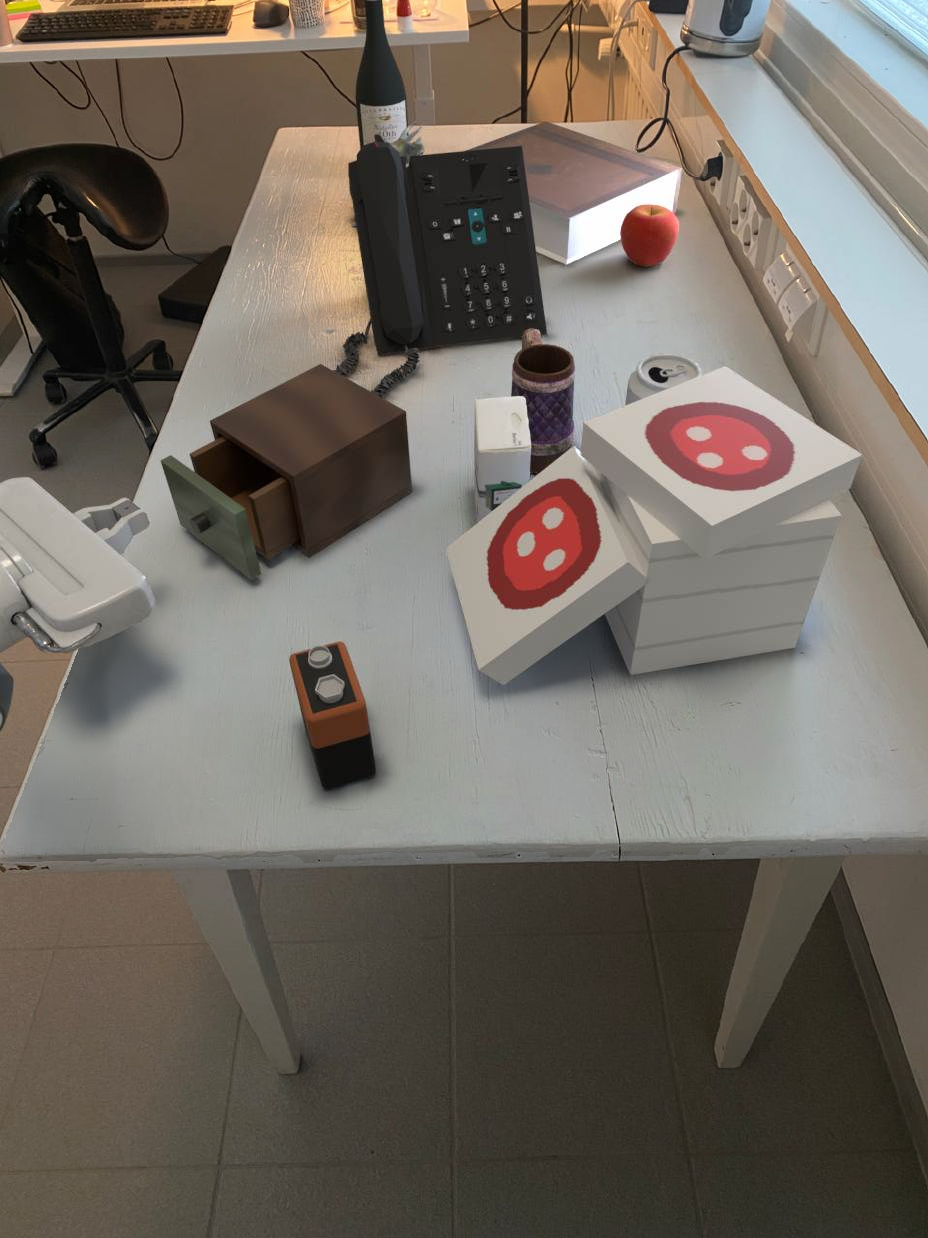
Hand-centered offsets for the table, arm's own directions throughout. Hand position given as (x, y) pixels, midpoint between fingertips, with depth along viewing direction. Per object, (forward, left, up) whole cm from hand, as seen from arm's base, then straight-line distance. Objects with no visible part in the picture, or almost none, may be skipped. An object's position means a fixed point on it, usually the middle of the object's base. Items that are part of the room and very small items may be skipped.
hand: (139, 510), depth 80 cm
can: (+51, +1, -10) cm, 52 cm away
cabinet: (+17, +9, -10) cm, 21 cm away
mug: (+41, +9, -10) cm, 43 cm away
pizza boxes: (+39, -17, -10) cm, 44 cm away
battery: (+11, -23, -10) cm, 27 cm away
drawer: (+10, +6, -9) cm, 15 cm away
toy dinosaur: (+40, +72, -10) cm, 83 cm away
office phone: (+37, +35, -10) cm, 52 cm away
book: (+67, +65, -10) cm, 94 cm away
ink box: (+33, -1, -10) cm, 34 cm away
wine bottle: (+47, +89, -10) cm, 101 cm away
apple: (+72, +44, -10) cm, 85 cm away
